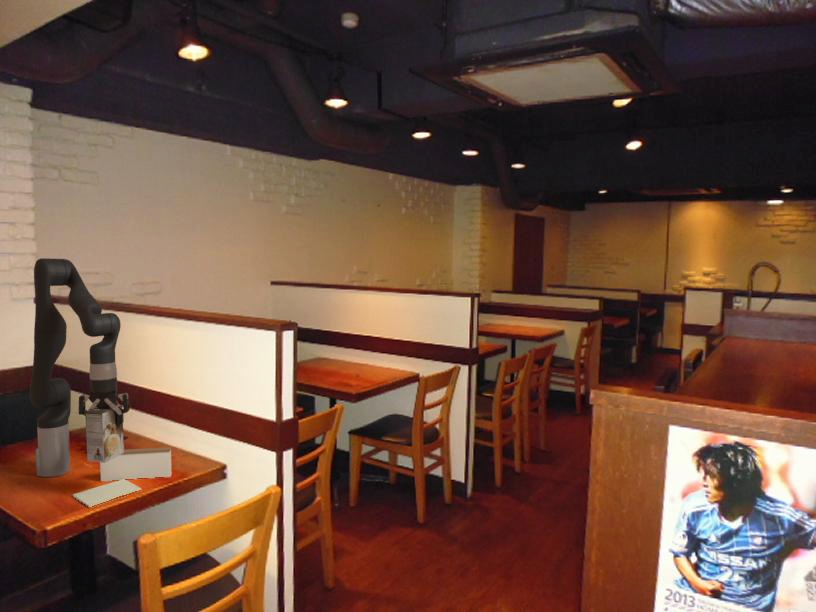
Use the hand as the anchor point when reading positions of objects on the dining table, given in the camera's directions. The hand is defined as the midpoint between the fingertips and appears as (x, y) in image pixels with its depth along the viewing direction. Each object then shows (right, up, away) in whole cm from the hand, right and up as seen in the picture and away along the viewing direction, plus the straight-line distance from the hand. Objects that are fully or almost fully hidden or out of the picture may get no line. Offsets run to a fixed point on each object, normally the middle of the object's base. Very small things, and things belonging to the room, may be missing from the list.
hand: (105, 426), depth 176 cm
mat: (0, -22, +2) cm, 22 cm away
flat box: (+3, -21, +15) cm, 26 cm away
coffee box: (0, -10, +1) cm, 10 cm away
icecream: (-22, -18, +41) cm, 50 cm away
